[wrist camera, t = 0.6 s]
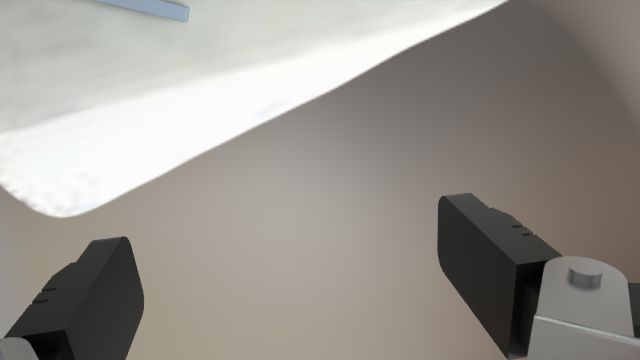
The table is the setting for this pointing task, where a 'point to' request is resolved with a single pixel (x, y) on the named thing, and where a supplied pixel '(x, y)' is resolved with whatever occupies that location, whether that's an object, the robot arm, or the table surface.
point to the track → (154, 8)
